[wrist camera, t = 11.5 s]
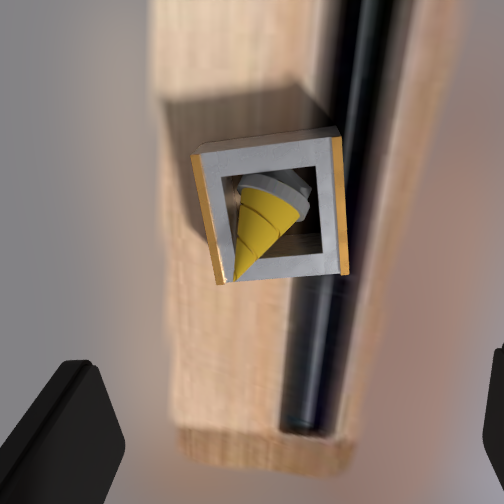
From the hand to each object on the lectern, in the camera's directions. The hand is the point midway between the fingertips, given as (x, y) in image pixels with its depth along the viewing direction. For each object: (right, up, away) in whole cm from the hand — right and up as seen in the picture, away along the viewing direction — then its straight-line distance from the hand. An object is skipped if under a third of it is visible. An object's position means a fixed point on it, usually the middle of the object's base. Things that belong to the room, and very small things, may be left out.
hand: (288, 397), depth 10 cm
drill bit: (+1, +8, +23) cm, 25 cm away
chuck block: (+1, +8, +24) cm, 25 cm away
